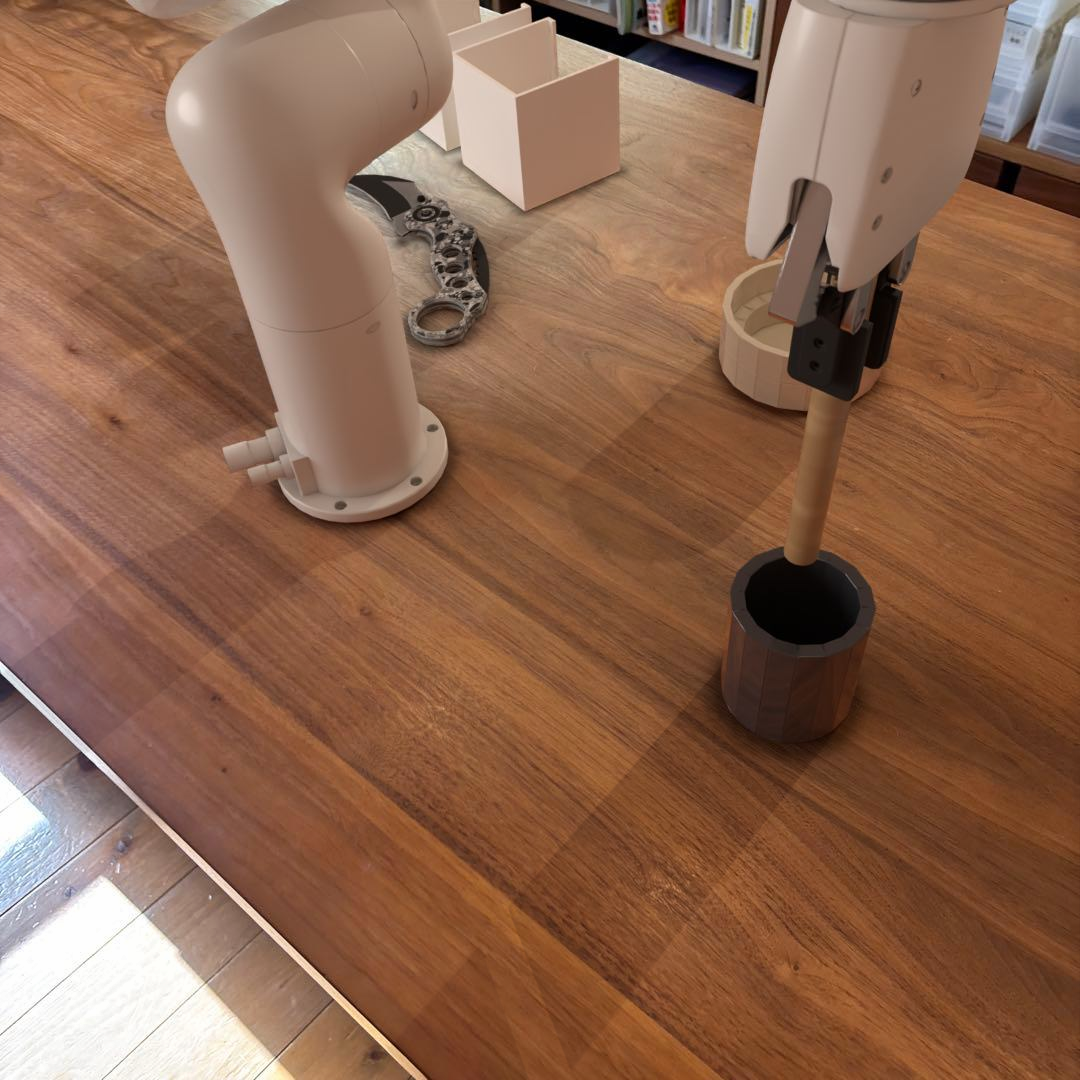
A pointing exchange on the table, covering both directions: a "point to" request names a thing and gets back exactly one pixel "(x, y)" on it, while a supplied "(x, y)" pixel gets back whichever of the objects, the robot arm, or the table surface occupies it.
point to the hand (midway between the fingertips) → (836, 368)
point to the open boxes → (525, 107)
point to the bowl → (764, 343)
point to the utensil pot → (795, 644)
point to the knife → (435, 252)
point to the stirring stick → (817, 470)
